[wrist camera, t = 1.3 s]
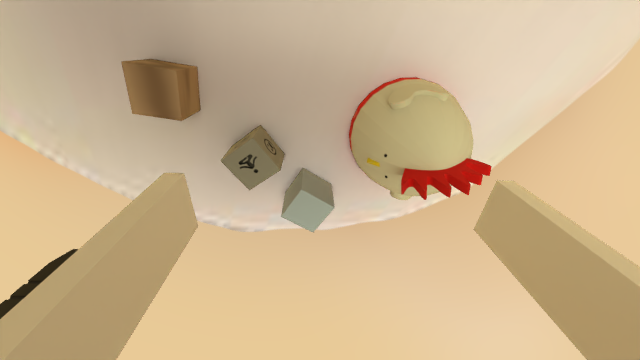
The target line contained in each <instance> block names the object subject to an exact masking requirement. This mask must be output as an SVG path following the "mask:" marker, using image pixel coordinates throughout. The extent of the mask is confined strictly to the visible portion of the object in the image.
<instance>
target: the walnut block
mask: <svg viewBox="0 0 640 360" xmlns="http://www.w3.org/2000/svg"><path fill="white" fill-rule="evenodd" d="M122 67H123V71H124V76H125V81H126V86H127V90H128V95H129V100H130V104H131V109H132V114H139V115H146V116H153V117H159V118H166V119H173V120H180V121H182V120H184V119H186V118H188V117H189V116H191V115H193V114H195V113H196V112H198V111H200V98H199V85H198V72H197V67H195V66H189V65H183V64H177V63H172V62H166V61H160V60H154V59H146V60H134V61H123V62H122Z"/></svg>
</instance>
